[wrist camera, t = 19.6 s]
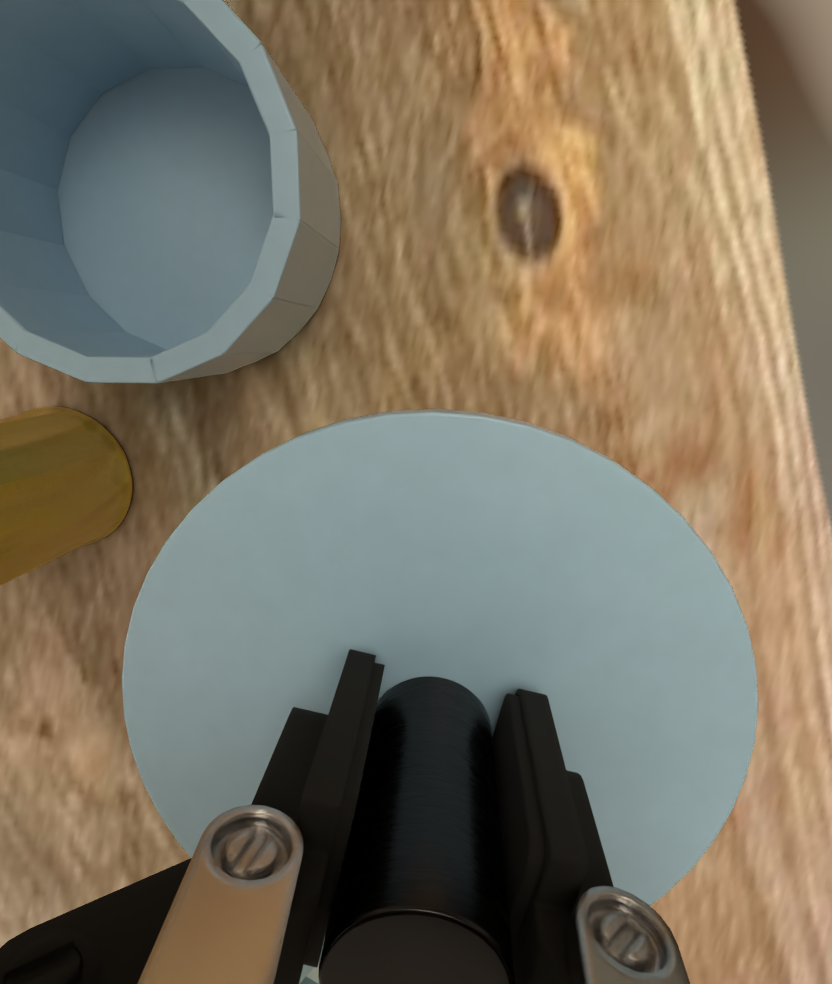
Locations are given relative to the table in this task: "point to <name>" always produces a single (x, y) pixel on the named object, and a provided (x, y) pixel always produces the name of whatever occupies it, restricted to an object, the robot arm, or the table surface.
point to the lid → (444, 666)
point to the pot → (154, 191)
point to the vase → (57, 486)
